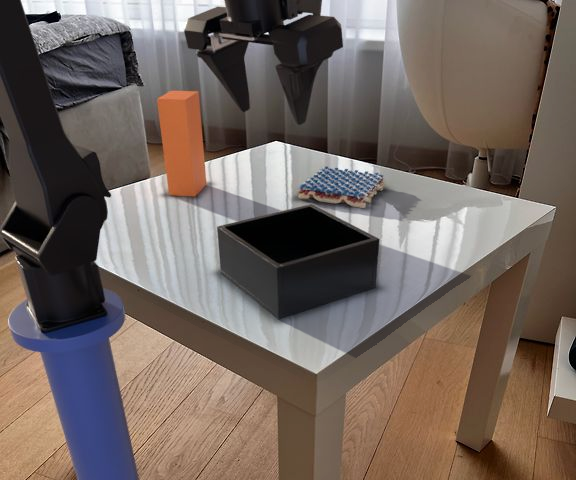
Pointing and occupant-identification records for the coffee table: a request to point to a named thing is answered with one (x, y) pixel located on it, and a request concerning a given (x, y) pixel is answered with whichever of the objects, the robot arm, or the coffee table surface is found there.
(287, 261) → the bin
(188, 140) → the block
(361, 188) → the woven mat
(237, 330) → the coffee table surface
